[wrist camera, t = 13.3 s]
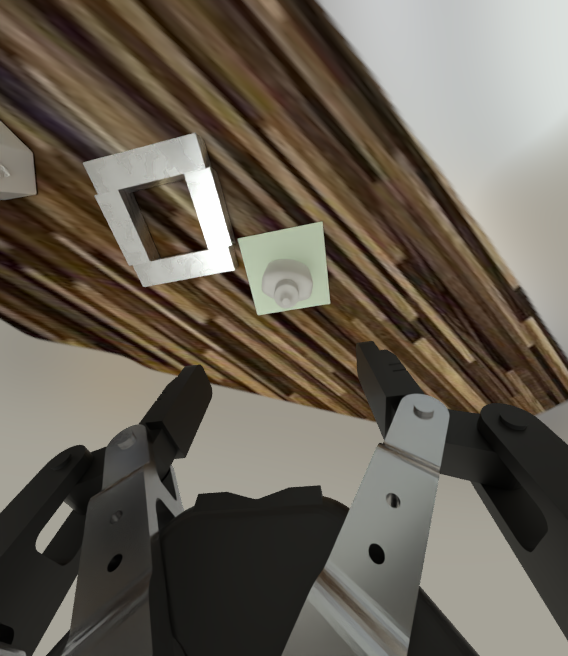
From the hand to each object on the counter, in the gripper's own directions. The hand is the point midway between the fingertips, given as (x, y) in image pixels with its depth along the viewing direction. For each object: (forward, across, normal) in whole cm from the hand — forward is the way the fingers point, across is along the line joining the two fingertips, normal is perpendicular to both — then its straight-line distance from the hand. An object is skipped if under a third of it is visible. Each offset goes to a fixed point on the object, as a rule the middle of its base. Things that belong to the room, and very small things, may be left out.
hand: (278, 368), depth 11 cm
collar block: (+22, +13, -9) cm, 27 cm away
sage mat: (+22, 0, 0) cm, 22 cm away
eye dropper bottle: (+21, 0, 0) cm, 21 cm away
